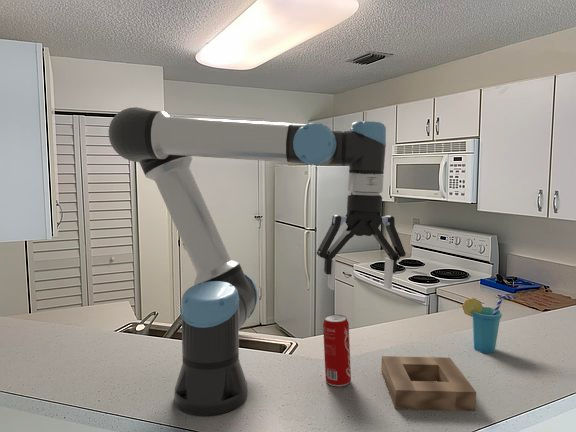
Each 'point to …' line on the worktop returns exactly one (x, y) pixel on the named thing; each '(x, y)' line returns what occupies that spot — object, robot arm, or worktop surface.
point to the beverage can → (337, 350)
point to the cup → (484, 323)
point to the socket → (427, 384)
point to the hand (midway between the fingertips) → (359, 287)
